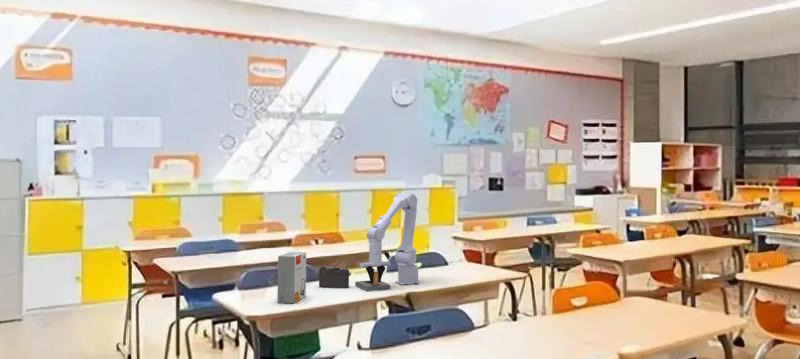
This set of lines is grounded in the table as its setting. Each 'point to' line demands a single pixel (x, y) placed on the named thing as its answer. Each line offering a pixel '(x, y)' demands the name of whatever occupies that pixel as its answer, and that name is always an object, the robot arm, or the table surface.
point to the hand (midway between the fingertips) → (375, 282)
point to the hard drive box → (291, 277)
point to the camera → (333, 277)
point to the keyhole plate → (369, 287)
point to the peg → (375, 278)
